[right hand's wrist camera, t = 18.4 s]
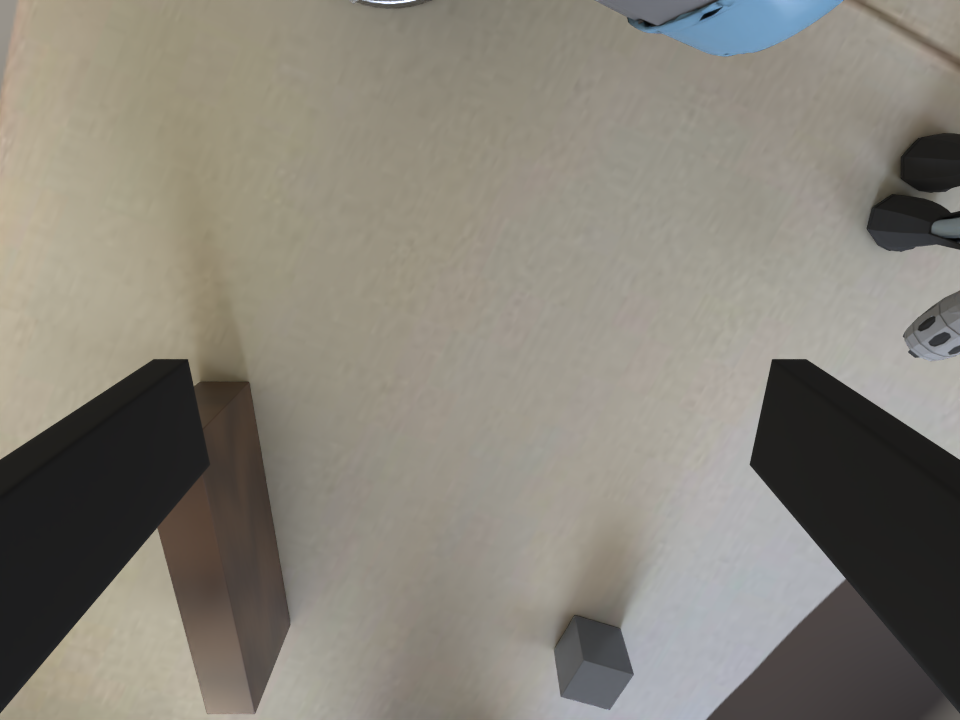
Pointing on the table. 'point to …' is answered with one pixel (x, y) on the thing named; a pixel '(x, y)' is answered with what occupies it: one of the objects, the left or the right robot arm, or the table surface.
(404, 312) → the table surface
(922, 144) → the robot
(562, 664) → the grey cube
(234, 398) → the plank
